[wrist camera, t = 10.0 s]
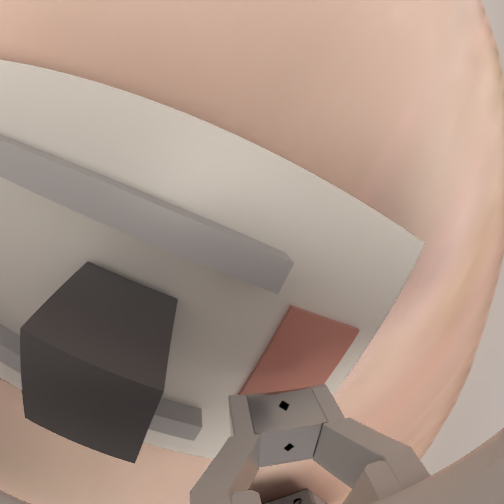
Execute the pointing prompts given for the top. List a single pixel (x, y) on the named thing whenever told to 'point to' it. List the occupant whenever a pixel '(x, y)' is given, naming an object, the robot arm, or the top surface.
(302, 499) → the circuit breaker
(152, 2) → the top surface
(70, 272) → the white slider track board
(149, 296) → the breaker toggle
